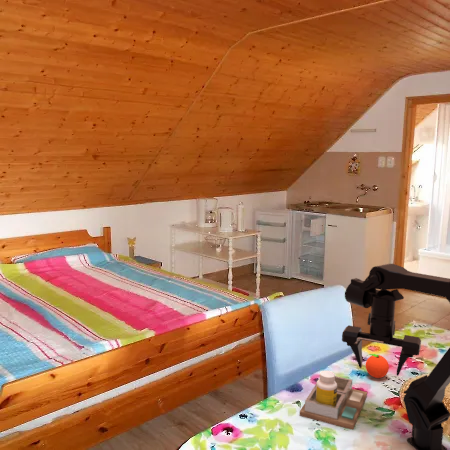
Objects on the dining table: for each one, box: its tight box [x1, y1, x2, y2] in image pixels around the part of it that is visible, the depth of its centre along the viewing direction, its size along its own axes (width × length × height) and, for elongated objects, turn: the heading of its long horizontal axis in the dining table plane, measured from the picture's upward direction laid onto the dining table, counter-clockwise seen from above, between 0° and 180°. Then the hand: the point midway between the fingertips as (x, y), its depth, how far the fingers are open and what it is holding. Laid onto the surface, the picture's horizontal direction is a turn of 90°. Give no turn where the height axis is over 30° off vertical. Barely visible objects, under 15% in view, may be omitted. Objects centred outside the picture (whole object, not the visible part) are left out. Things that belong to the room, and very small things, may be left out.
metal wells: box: [304, 375, 353, 420], centre depth 131 cm, size 18×9×3 cm, turn 153°
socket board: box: [299, 388, 368, 430], centre depth 131 cm, size 19×14×2 cm
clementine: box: [364, 353, 390, 379], centre depth 147 cm, size 8×7×7 cm
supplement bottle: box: [316, 370, 337, 407], centre depth 126 cm, size 5×5×10 cm
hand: (378, 371), depth 123 cm, fingers open, 9 cm apart
